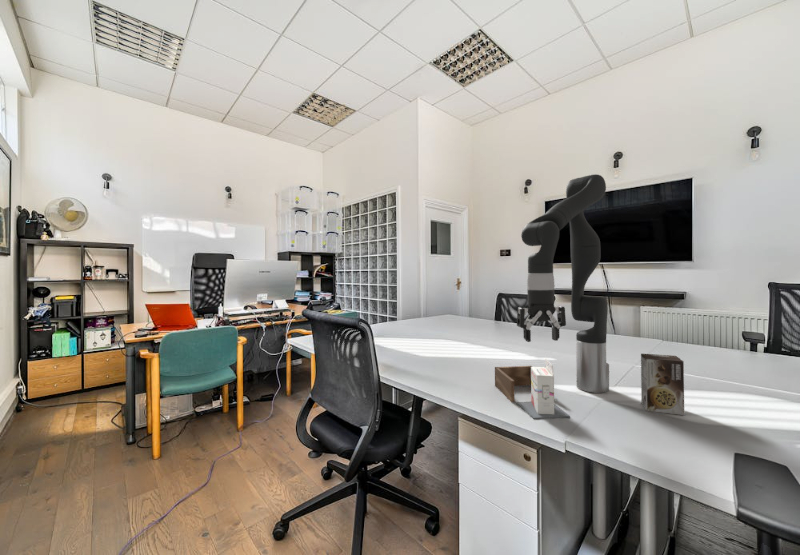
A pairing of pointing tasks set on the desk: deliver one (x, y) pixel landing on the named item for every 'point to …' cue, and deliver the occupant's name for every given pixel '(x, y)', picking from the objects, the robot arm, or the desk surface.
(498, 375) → the open front box
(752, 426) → the desk surface
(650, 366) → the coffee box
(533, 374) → the ink cartridge box
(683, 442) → the desk surface
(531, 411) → the mat
